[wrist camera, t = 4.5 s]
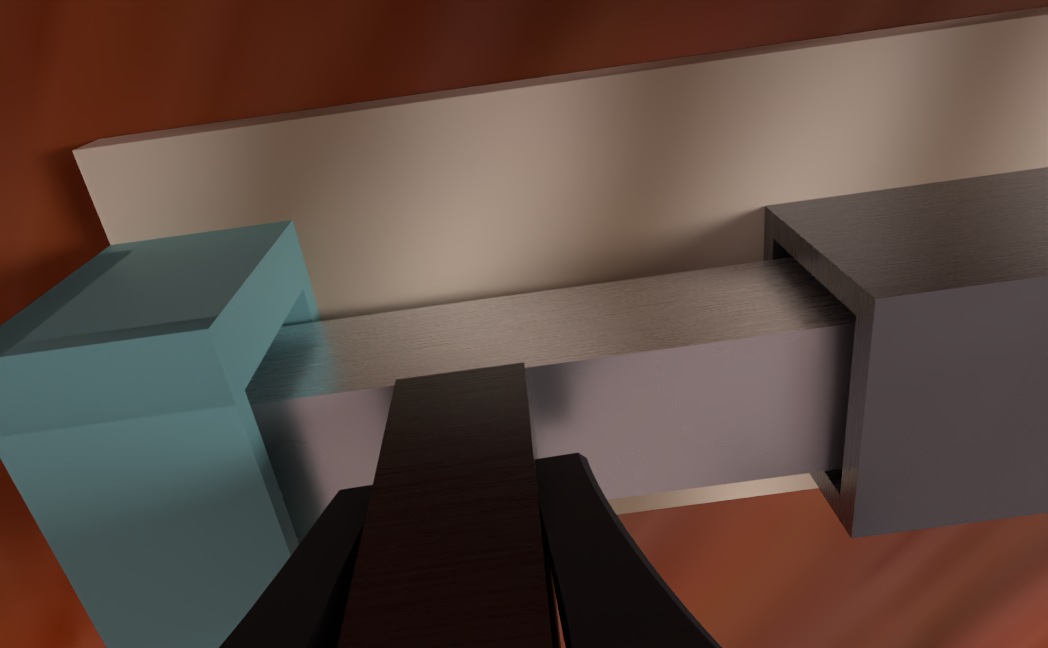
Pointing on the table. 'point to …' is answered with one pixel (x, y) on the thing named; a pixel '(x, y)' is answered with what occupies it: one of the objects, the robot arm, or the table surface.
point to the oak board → (592, 168)
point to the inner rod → (540, 427)
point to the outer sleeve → (935, 346)
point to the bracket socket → (156, 429)
